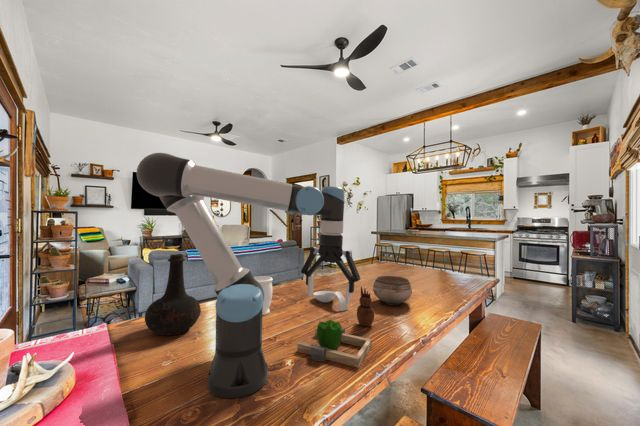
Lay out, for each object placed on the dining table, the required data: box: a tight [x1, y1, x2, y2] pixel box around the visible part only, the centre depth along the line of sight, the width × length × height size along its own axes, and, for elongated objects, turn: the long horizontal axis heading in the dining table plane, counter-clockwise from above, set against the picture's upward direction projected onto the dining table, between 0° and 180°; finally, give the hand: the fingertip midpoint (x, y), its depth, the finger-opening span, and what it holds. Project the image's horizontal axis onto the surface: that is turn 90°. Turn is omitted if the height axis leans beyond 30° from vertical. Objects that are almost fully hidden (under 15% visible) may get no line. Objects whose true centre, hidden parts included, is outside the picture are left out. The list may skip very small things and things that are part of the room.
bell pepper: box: [316, 318, 343, 351], centre depth 90 cm, size 8×8×10 cm
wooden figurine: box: [356, 286, 375, 327], centre depth 109 cm, size 7×6×15 cm
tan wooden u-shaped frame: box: [296, 327, 373, 369], centre depth 89 cm, size 18×20×4 cm
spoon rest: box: [312, 290, 349, 312], centre depth 135 cm, size 24×12×7 cm, turn 30°
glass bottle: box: [144, 253, 202, 336], centre depth 101 cm, size 18×18×28 cm
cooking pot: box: [372, 274, 413, 306], centre depth 137 cm, size 25×19×12 cm
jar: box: [253, 275, 274, 316], centre depth 121 cm, size 11×10×15 cm
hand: (328, 298), depth 90 cm, fingers open, 13 cm apart
